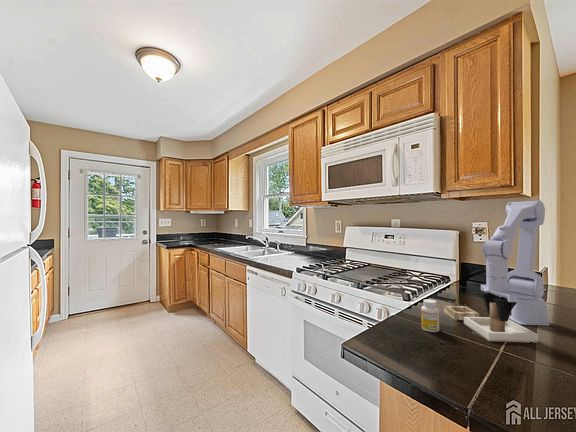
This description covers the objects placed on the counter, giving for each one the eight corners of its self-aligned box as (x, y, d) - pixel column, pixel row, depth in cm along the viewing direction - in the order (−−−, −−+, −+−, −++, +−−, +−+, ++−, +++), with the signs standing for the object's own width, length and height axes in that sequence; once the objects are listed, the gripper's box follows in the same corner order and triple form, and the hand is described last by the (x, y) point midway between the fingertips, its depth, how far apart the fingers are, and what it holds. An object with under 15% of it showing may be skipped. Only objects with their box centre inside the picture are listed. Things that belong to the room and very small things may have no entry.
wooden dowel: (500, 328, 92) (499, 301, 92) (508, 333, 88) (507, 305, 88) (487, 328, 92) (486, 301, 92) (494, 333, 88) (494, 305, 88)
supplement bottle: (427, 325, 97) (426, 297, 97) (442, 330, 92) (442, 301, 92) (418, 328, 94) (418, 300, 94) (434, 333, 89) (433, 304, 89)
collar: (466, 312, 109) (466, 306, 109) (479, 320, 101) (479, 313, 101) (444, 312, 110) (444, 305, 110) (454, 319, 101) (454, 313, 101)
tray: (505, 324, 96) (505, 317, 96) (538, 342, 82) (538, 334, 82) (464, 323, 98) (463, 316, 98) (488, 341, 84) (488, 332, 84)
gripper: (471, 272, 98) (472, 309, 98) (498, 281, 83) (499, 325, 83) (492, 272, 97) (493, 310, 97) (523, 281, 83) (524, 326, 82)
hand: (497, 317), depth 90 cm, fingers open, 5 cm apart
